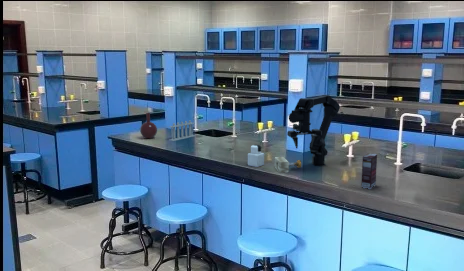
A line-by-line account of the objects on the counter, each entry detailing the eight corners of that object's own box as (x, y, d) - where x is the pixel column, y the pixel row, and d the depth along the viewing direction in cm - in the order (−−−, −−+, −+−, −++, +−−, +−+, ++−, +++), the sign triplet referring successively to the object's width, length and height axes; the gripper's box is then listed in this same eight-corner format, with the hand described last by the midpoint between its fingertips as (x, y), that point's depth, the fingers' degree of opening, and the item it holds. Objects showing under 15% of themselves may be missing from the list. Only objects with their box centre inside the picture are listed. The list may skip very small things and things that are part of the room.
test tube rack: (173, 141, 319) (172, 124, 316) (168, 140, 321) (168, 123, 319) (195, 136, 338) (194, 120, 335) (191, 135, 341) (190, 119, 338)
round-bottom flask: (151, 136, 339) (150, 111, 335) (160, 138, 329) (159, 113, 325) (137, 138, 330) (136, 113, 326) (146, 140, 320) (145, 114, 317)
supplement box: (366, 183, 210) (368, 152, 207) (375, 185, 208) (377, 154, 205) (360, 187, 203) (362, 156, 200) (370, 189, 201) (372, 157, 198)
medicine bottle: (254, 162, 252) (254, 143, 250) (264, 164, 248) (264, 145, 245) (247, 165, 247) (247, 145, 244) (257, 167, 242) (257, 147, 240)
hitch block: (282, 166, 242) (282, 156, 241) (288, 172, 231) (288, 162, 230) (274, 167, 242) (274, 157, 241) (279, 172, 230) (280, 162, 229)
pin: (298, 166, 240) (299, 159, 239) (301, 168, 236) (301, 161, 235) (279, 167, 238) (279, 160, 237) (281, 169, 234) (281, 161, 233)
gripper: (314, 117, 244) (313, 143, 247) (284, 119, 240) (283, 145, 243) (322, 120, 233) (321, 147, 236) (290, 122, 229) (290, 150, 232)
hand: (304, 147), depth 237 cm, fingers open, 9 cm apart
